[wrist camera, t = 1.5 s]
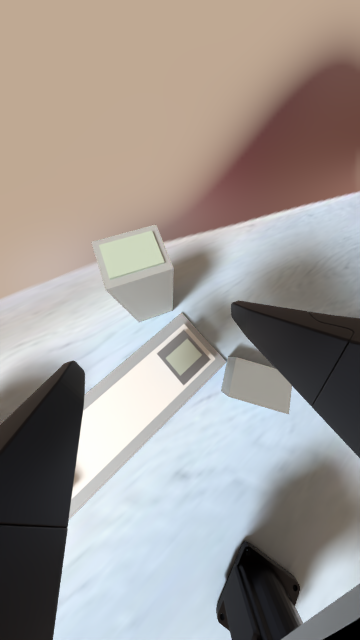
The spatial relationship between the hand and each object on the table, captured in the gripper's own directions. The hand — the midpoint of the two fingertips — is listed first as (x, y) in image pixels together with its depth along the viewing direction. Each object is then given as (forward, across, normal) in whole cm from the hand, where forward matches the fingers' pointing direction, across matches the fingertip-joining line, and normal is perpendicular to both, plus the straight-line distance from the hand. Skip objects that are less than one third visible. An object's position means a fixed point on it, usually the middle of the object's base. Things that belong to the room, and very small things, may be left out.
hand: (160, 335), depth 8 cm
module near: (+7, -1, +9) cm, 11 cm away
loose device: (+3, -9, +15) cm, 18 cm away
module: (+13, 0, +4) cm, 14 cm away
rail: (+5, +8, +13) cm, 16 cm away
